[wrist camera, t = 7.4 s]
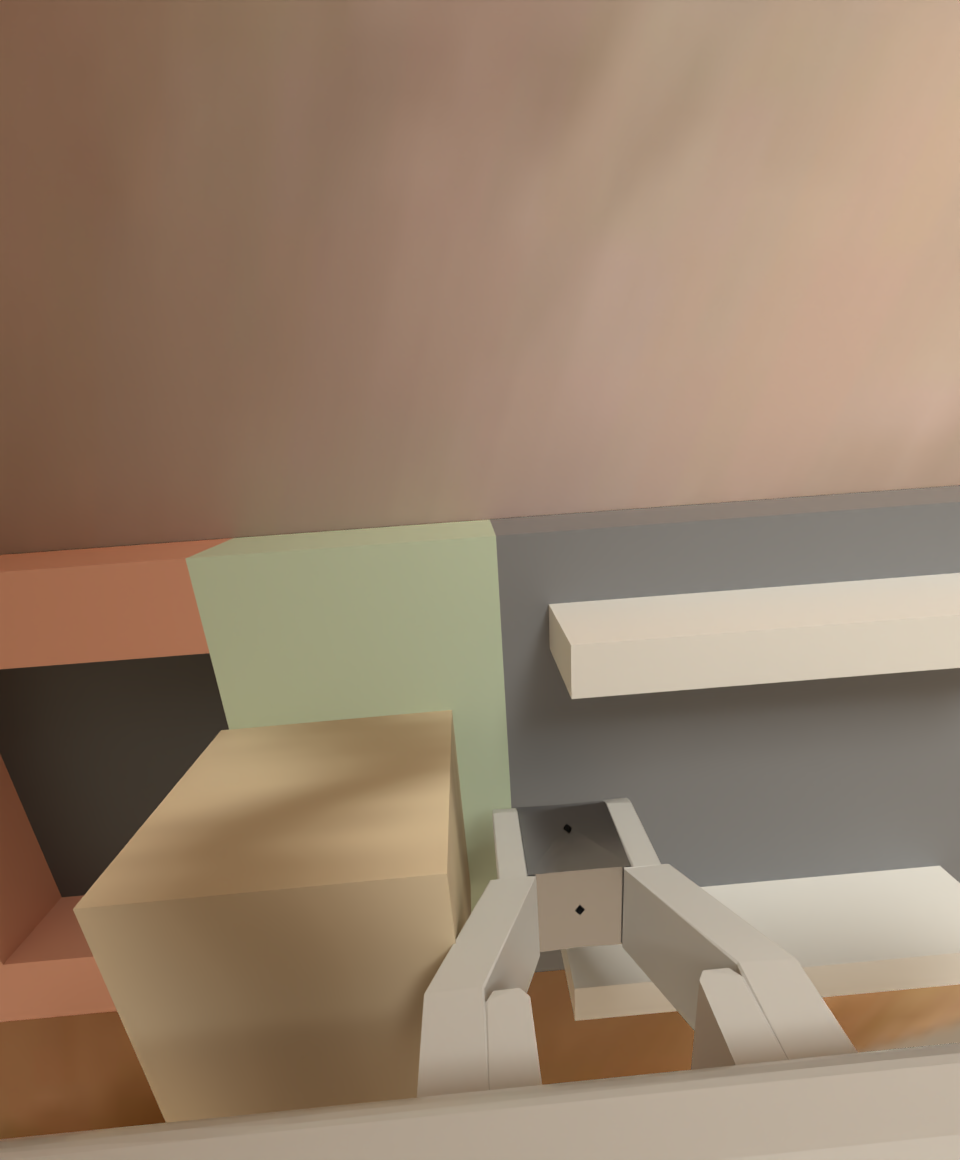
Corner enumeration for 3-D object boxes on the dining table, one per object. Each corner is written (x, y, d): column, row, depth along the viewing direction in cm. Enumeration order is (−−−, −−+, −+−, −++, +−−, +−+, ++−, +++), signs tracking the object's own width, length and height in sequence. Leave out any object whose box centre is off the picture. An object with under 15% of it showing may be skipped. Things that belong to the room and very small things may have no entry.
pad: (489, 519, 11) (495, 535, 9) (512, 902, 14) (520, 973, 12) (233, 538, 11) (185, 558, 9) (318, 920, 14) (297, 994, 12)
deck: (1144, 472, 11) (1283, 478, 9) (1013, 857, 15) (1096, 920, 13) (-161, 566, 11) (-299, 593, 9) (21, 946, 14) (-48, 1026, 12)
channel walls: (1022, 568, 10) (1162, 598, 8) (931, 894, 12) (1018, 978, 10) (548, 604, 9) (571, 645, 8) (556, 929, 12) (575, 1021, 10)
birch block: (452, 709, 10) (446, 873, 6) (470, 885, 12) (475, 1106, 8) (221, 730, 10) (72, 908, 6) (268, 904, 11) (172, 1137, 8)
